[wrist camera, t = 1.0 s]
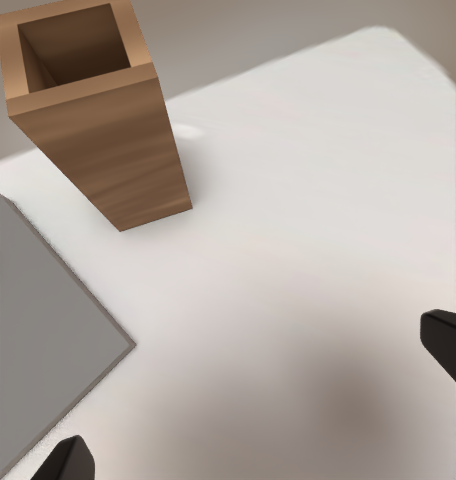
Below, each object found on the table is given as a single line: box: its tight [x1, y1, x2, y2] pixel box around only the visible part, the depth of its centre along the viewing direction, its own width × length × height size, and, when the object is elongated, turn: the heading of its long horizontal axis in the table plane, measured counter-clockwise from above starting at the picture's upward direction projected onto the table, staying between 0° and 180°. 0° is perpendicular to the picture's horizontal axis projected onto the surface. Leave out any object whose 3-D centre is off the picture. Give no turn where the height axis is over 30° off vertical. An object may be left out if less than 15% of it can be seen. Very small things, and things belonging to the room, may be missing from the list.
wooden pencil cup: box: [0, 0, 192, 232], centre depth 19 cm, size 6×6×12 cm
